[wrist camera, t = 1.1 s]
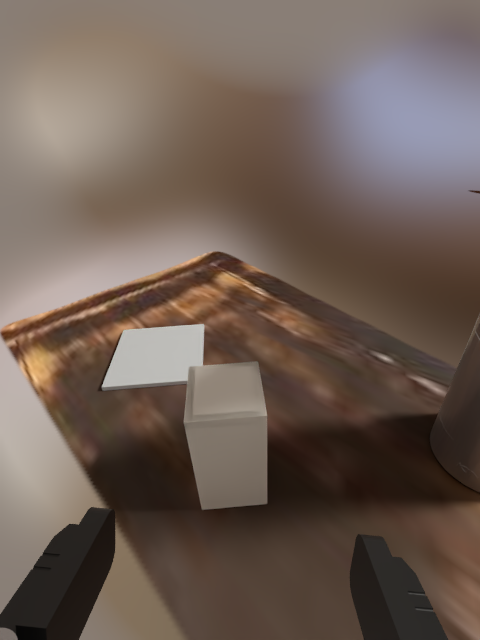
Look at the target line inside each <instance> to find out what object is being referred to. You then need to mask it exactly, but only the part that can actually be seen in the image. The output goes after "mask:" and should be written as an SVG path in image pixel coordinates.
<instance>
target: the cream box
mask: <svg viewBox="0 0 480 640" xmlns="http://www.w3.org/2000/svg"><path fill="white" fill-rule="evenodd" d="M184 426H185V431H186V436H187V441H188V445H189V450H190V455H191V460H192V465H193V470H194V474H195V479H196V484H197V489H198V494H199V499H200V503H201V508H202V510H207V509H218V508H229V507H239V506H250V505H261V504H267V412H266V406H265V400H264V394H263V388H262V382H261V376H260V371H259V365H258V361H257V362H244V363H231V364H219V365H206V366H193V367H189V371H188V382H187V393H186V403H185V414H184Z"/></svg>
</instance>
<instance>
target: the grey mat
mask: <svg viewBox="0 0 480 640" xmlns="http://www.w3.org/2000/svg"><path fill="white" fill-rule="evenodd" d="M203 346H204V324H198V325H184V326H171V327H158V328H144V329H131V330H124V331H123V333H122V336H121V338H120V341H119V344H118V346H117V349H116V351H115V354H114V356H113V359H112V362H111V364H110V367H109V369H108V372H107V374H106V377H105V380H104V382H103V385H102V390H103V391H105V390H118V389H130V388H143V387H155V386H168V385H180V384H187V382H188V371H189V367H193V366H203Z"/></svg>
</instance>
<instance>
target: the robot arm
mask: <svg viewBox="0 0 480 640" xmlns="http://www.w3.org/2000/svg"><path fill="white" fill-rule="evenodd" d="M430 445H431V448H432V451H433V453H434V455H435V457H436V458H437V460H438V462H439V463H440V464H441V465H442V466H443V467H444V469H445V470H446V471H447V472H448V473H450V474H451V475H452V476H453V477H454V478H455V479H457V480H458V481H460V482H461V483H463V484H464V485H466V486H467V487H469V488H471V489H473V490H475V491H477V492H480V314H479V317H478V319H477V322H476V324H475V327H474V329H473V332H472V334H471V337H470V339H469V341H468V344H467V346H466V349H465V351H464V353H463V356H462V358H461V360H460V363H459V366H458V368H457V370H456V372H455V375H454V377H453V380H452V382H451V384H450V387H449V389H448V392H447V394H446V396H445V399H444V401H443V404H442V406H441V408H440V410H439V413H438V415H437V418H436V420H435V423H434V425H433V427H432V430H431V433H430ZM114 553H115V511H114V509H104V508H94V507H91V508H90V509H89V510H88V511H87V513H86V514H85V516H84V517H83V519H82V521H81V522H80V524H79V525H76V524H69V525H68V526H67V527H66V528H64V529H63V530H62V531H60V532H59V533H58V534H57V535H56V536H54V538H53V539H52V540H51V542H50V543H49V545H48V546H47V548H46V549H45V551H44V552H43V555H42V556H40V558H39V559H38V561H37V562H36V564H35V565H34V568H33V570H31V571H30V572H29V574H28V575H27V577H26V578H25V580H24V581H23V582H22V584H21V585H20V587H19V588H18V590H17V591H16V593H15V594H14V596H13V597H12V599H11V600H10V601H9V603H8V604H7V606H6V607H5V609H4V610H3V612H2V613H1V614H0V640H79V638H80V636H81V633H82V631H83V629H84V627H85V624H86V622H87V620H88V617H89V615H90V613H91V611H92V609H93V606H94V604H95V602H96V600H97V597H98V595H99V593H100V591H101V589H102V586H103V584H104V582H105V580H106V577H107V575H108V573H109V570H110V568H111V565H112V562H113V558H114ZM350 588H351V594H352V598H353V601H354V605H355V609H356V612H357V616H358V619H359V623H360V626H361V630H362V634H363V637H364V640H448V638H447V636H446V634H445V632H444V630H443V628H442V626H441V624H440V622H439V620H438V618H437V616H436V614H435V613H434V612H433V608H432V606H431V604H430V602H429V600H428V598H427V596H425V592H424V590H423V588H422V586H421V584H420V582H419V580H418V577H417V575H416V574H415V573H414V571H413V570H412V569H411V568H410V567H409V566H408V565H407V564H406V562H405V561H404V560H403V559H402V558H399V557H392V555H391V553H390V551H389V548H388V546H387V544H386V542H385V540H384V538H383V537H380V536H370V535H360V534H358V535H357V537H356V542H355V547H354V553H353V558H352V564H351V569H350Z"/></svg>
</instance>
